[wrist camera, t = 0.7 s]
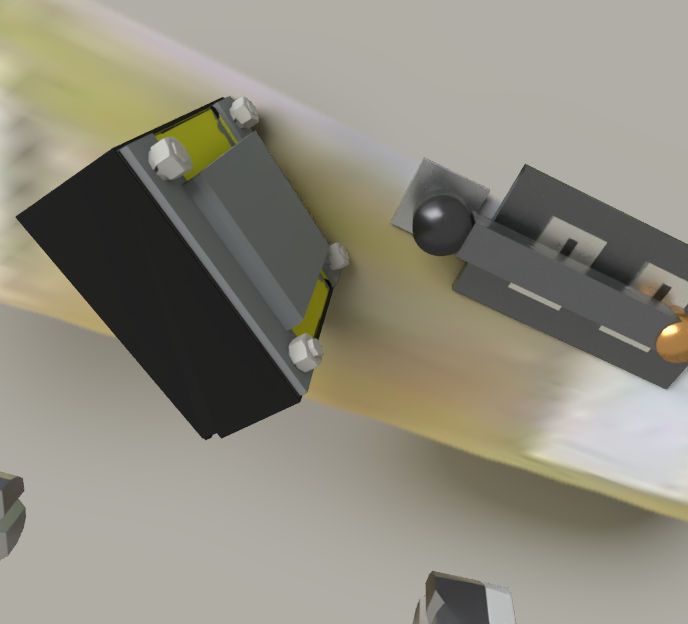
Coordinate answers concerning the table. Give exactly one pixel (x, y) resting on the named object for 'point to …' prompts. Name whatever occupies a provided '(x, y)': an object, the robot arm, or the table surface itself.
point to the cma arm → (548, 274)
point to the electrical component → (199, 264)
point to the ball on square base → (432, 179)
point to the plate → (593, 251)
